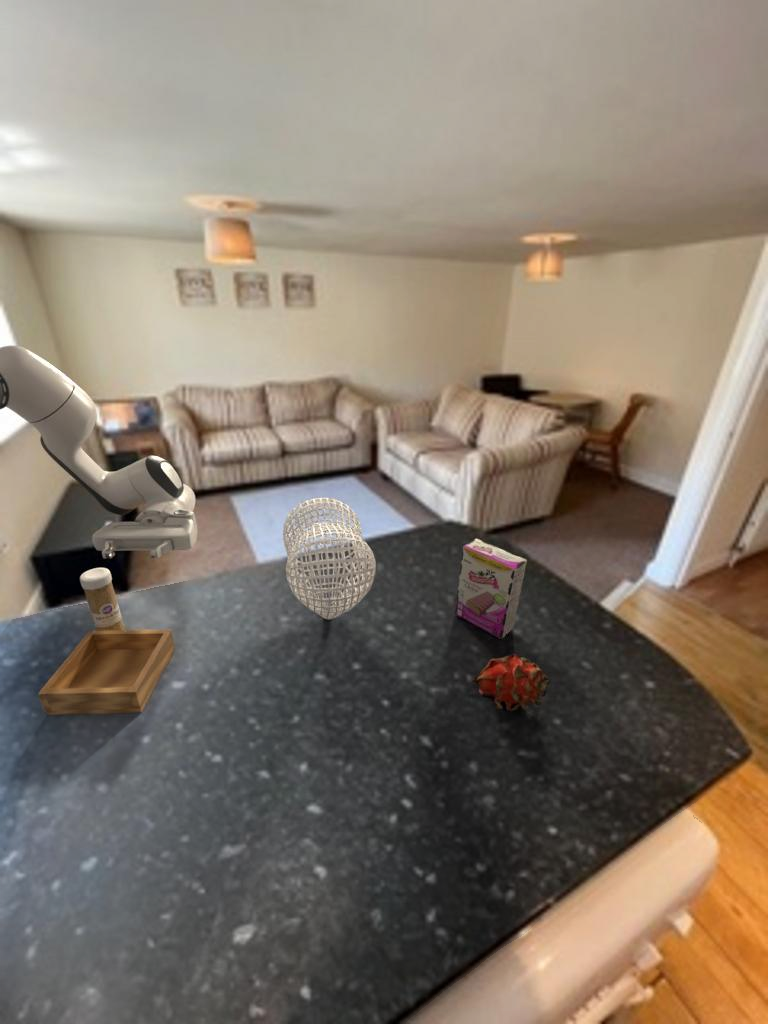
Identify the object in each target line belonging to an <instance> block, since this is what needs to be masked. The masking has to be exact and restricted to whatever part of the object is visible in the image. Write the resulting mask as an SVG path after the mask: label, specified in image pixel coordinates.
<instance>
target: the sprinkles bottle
mask: <svg viewBox="0 0 768 1024" xmlns="http://www.w3.org/2000/svg"><path fill="white" fill-rule="evenodd" d="M112 581H113V577H112V573H111V571H110V570H109V569H108V568H106V567H95V568H92V569H88V570H86V571H84V572H83V573H81V575H80V576H79V583H80V585H81V587H82V590H83V591H84V594H85V597H86V598H85V599H86V603H87V606H88V609H89V612H90V616H91V620H92V623H93V625H94V628H95V631H104V630H126V627H125V626H124V622H123V618H122V612H121V610H120V606H119V603H118V598H117V594H116V591H115V589H114V586H113V583H112Z"/></svg>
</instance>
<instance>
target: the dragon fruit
mask: <svg viewBox="0 0 768 1024" xmlns="http://www.w3.org/2000/svg"><path fill="white" fill-rule="evenodd" d="M549 681H550V680H549V679H548V677H547V675H546V674H543V670H542V669H541V668H540V667H539V666H538V664H536V663H535V662H532V663H531V661H530V659H528V658H526V657H518V655H517V654H514V653H512V654H510V655H506V656H504V657H499V658H491V659H490V660H489V661H488V663H487V664H486V665H485V667H484V668H483V669H482V670H481V671H480V672H479V674H477V675H476V676H475V677H474V678H473V680H472V681H471V682H472V683H471V684H472V685H471V686H474V685H477V687H478V693H479V694H480V695H481V696H482V697H483V698H484V699H486V700H488V701H493V704H494V706H495V709H497V710H502V709H503V706H502V704H501V703H502V702H504V703H505V708H506V711H510V712H513V711H516V710H518V708H519V707H521V708H522V710H524V711H527V712H529V711H531V710H532V705H530V706H529V708H527V703H528V702H529V703H531V704H533V705H534V706H540V705H541V704H542V702H541V701H540V698H544V697H546V694H547V686H548V685H550V682H549ZM477 687H475V690H476V688H477ZM489 695H490V696H489ZM493 698H494V699H493ZM512 705H513V706H512Z"/></svg>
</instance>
